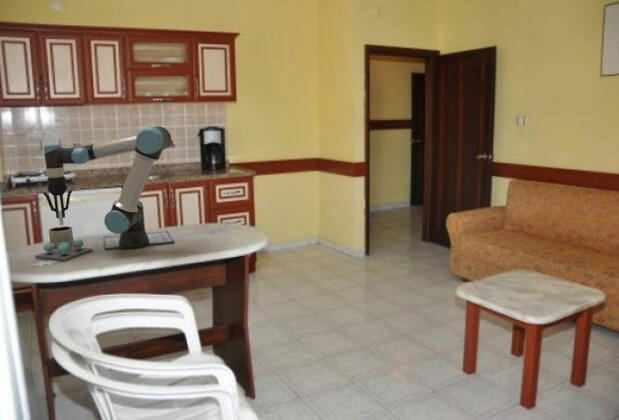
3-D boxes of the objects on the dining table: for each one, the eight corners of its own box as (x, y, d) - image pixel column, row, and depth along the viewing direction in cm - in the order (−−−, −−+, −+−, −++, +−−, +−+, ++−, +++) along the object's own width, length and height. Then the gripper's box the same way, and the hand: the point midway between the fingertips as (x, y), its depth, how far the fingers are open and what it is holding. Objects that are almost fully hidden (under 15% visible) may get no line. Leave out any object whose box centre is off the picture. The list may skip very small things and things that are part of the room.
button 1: (85, 248, 255) (85, 240, 254) (78, 250, 251) (77, 242, 250) (78, 247, 257) (77, 239, 256) (71, 249, 252) (70, 241, 252)
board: (93, 251, 257) (92, 248, 256) (64, 262, 240) (64, 258, 240) (65, 248, 263) (64, 245, 263) (35, 258, 247) (35, 255, 246)
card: (59, 262, 240) (59, 261, 240) (45, 267, 233) (45, 266, 233) (46, 260, 243) (46, 259, 243) (31, 265, 236) (31, 264, 235)
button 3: (72, 250, 259) (71, 242, 258) (64, 252, 254) (63, 244, 254) (65, 249, 260) (64, 241, 259) (57, 251, 256) (56, 244, 255)
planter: (64, 250, 261) (62, 231, 259) (46, 249, 263) (43, 230, 261) (78, 244, 271) (76, 226, 269) (60, 243, 274) (58, 226, 272)
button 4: (57, 251, 250) (56, 243, 249) (49, 253, 246) (48, 245, 245) (50, 250, 252) (49, 242, 251) (42, 253, 247) (41, 245, 247)
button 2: (71, 252, 247) (70, 244, 246) (63, 255, 243) (63, 247, 242) (64, 252, 248) (63, 244, 248) (56, 254, 244) (55, 246, 243)
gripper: (71, 174, 254) (76, 221, 258) (41, 176, 249) (47, 224, 254) (70, 176, 247) (76, 224, 252) (39, 178, 242) (46, 227, 247)
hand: (61, 224), depth 253 cm, fingers closed
